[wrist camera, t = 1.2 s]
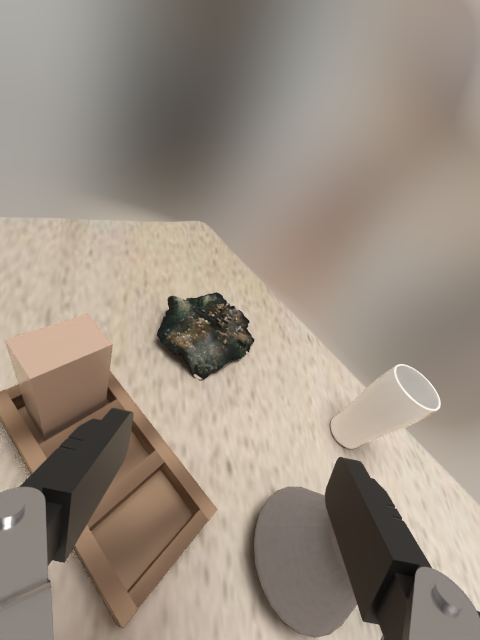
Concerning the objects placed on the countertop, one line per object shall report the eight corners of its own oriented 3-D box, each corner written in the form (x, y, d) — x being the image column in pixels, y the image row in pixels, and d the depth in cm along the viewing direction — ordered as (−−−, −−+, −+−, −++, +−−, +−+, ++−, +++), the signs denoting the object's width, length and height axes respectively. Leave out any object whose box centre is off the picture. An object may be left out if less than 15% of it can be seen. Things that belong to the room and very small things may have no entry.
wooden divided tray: (-3, 415, 28) (-12, 396, 25) (94, 369, 35) (95, 351, 32) (117, 625, 21) (122, 629, 19) (205, 517, 28) (217, 509, 26)
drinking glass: (365, 435, 45) (443, 390, 35) (354, 465, 40) (440, 423, 30) (333, 405, 47) (398, 355, 37) (318, 430, 42) (389, 380, 32)
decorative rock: (210, 272, 53) (275, 311, 50) (202, 297, 56) (262, 334, 54) (141, 311, 38) (229, 369, 35) (136, 341, 41) (216, 396, 39)
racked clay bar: (27, 412, 27) (4, 339, 20) (86, 382, 32) (87, 313, 24) (46, 442, 26) (30, 379, 19) (105, 407, 31) (112, 344, 23)
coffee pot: (222, 573, 26) (304, 559, 16) (271, 471, 35) (344, 423, 25) (418, 769, 22) (674, 902, 13) (419, 601, 31) (571, 603, 21)
